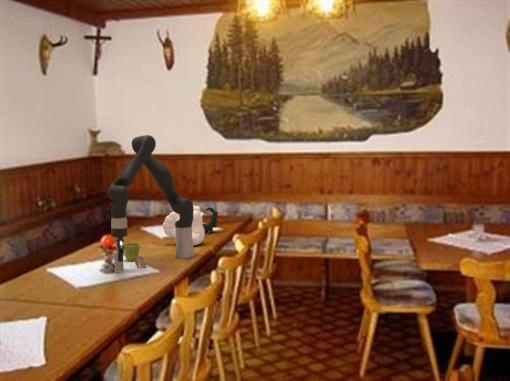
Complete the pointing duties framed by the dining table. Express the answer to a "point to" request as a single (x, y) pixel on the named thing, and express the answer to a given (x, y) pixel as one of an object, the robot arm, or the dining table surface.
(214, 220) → the toy figurine
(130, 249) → the plant pot
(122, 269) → the slate-grey block
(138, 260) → the walnut block
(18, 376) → the dining table surface
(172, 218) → the decorative rooster
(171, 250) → the dining table surface
